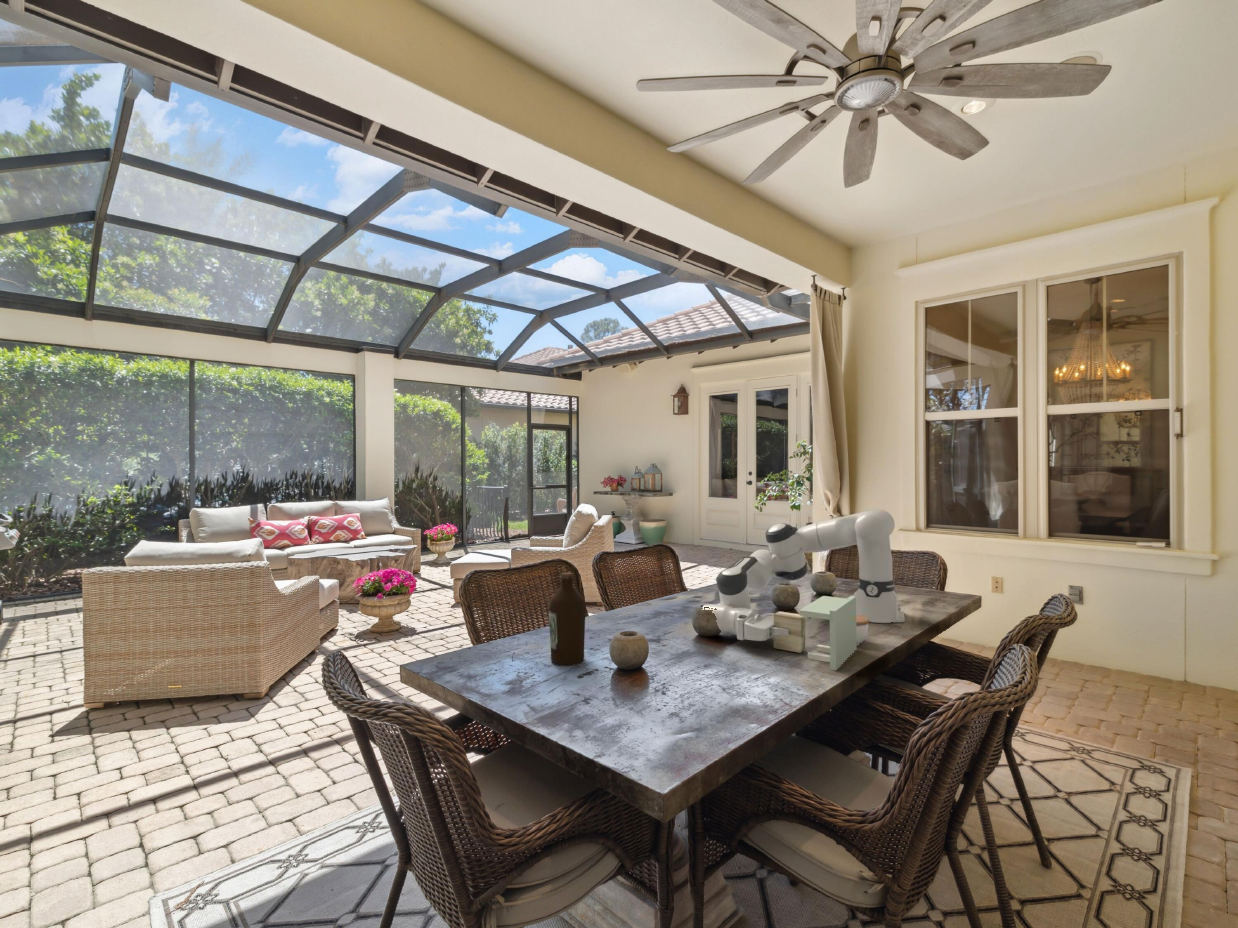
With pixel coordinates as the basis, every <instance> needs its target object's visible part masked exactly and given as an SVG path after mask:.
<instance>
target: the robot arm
mask: <svg viewBox="0 0 1238 928" xmlns="http://www.w3.org/2000/svg"><path fill="white" fill-rule="evenodd" d="M895 527H896V526H895V520H894V517H893V516H892V514H891V513H889V512H888V511H886V510H884V509H881V508H875V509H872V510H871V509H869V510H867V511H861V512H857V513H853V514H849V515H844V516H840V517H839V516H838V517H835V518H831V519H826V520H822V521H818V522H814V523H811V524H807V525H805V526H802V527H799V528H797V526H792V525H790V524H788V523H783V522H781V523H777V524H774V525H772V526H770V527H769V528H767V529H766V531H765V540H766V542H767V545H768V548H769V550H768V549H764V548H763V549H757V550H755V551H754V552H752V553H751V554H750V555H747V556H742V557H740V558H738V559H737V560H736V561H735V562H734V563H732V564H731V565H730V566H729V567H728V568H724V569H723V570H721V571H720V572H719V573H718V574H717V576H716V579H715V582H716V586H717V589H718V595H719V601H720V602H718V603H717V604H714V603H710V604H709V603H705V604H703V606H702V607H701V610H704V607H709V608H710V609H709V608H705V610H713V611H712V613H714V614H715V616H716V618H717V620H716V622H717V625H718V627H719V629H720V630H721V633H720V634H724V635H725V634H726V635H728V634H732V635H734V636H736V638H737V640H740V641H745V640H746V641H747V640H750V641H755V642H756V641H757V642H763V641H764V642H765V641H767V640H768V639H770V638H772V637H774V635H775V636H776V635H785V636H788V635H789V634H790V629H787V628H777V627H774V626H775V624H774V614H775V613H772V612H771V613H770V612H767V613H762V614H759V612H758V611H757V609H754V608H752V605H751V600H750V593H749V592H750V591H749V589H751V590H761V589H763V588H765V587H766V586H767V585H769V583H770V581H771V579H772V577H773V575H775V576H776V577H778V578H781V579H783V580H785V581H790V582H791V581H797V580H800V579H802V578H803V577H805V576H806V574H807V573H808V564H807V561H806V560H805V558H806V557H805V554H806V553H807V554H808V553H809V554H810V553H812V554H814V553H821V552H828V551H832V550H833V551H834V550H837V549H842V548H843V549H844V548H847V547H852V546H855V545H856V546H857V551H858V571H859V572H858V575H859V576H858V578H857V587H858V589H857V590H856V591H855V592H854V593H853V596H856V615H861V616H864V617H866V618H868V619H869V623H877V624H879V623H880V624H889V623H890V624H892V623H891V622H893V623H906V619H905V611H904V610H902V609H901V607H900V606H899V604H898V600H899V598H898V596H897V594H896V592H895V585H896V584H895V581H894V577H893V573H894V572H893V555H892V549H891V541H890V536H891V535H892V533H893V532H894V530H895ZM804 553H805V554H804ZM702 608H703V609H702ZM711 608H713V609H711ZM715 608H716V609H717V610H714V609H715Z"/></svg>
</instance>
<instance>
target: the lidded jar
mask: <svg viewBox="0 0 1238 928" xmlns="http://www.w3.org/2000/svg"><path fill="white" fill-rule="evenodd" d="M869 623H870V622H869V619H868V618H866V617H864V616H861V615H856V635H857V646H859V645H858V644H860V643H861V644H862V643H863V642H864V641H865V640H866V638H867V636H868V633H869ZM861 644H860V645H861Z"/></svg>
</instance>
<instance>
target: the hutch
mask: <svg viewBox="0 0 1238 928" xmlns="http://www.w3.org/2000/svg"><path fill="white" fill-rule="evenodd" d="M798 614H799V616H805V618H806V617H809V618H815V619H822V620H828V621H829V645H823V644H817V645H816V651H817V652H812V651H809V652H807V659H809V660H814V661H820V662H825V663H829V670H830V669H831V670H830V671H834V670H836V671H837V670H839V668H840V667H841V666H842V665H843V664H844V663H845V662H846V661H847V660H848V659H849V658H850V657H851V656H852V655H853V654H854V653H855V652H856V651H858V650H857V649H858V648H857V646H858V645H857V635H856V596H854V595H850V596H849V597H847V598H844V597H835V596H827V595H822V596H821V597H819V598H817V599H815V600H813V601H812V602H810V603H809V604H807V605H806V606H804V607H802V608H801V609H799V612H798ZM855 650H856V651H855ZM854 651H855V652H854ZM818 652H821V653H818ZM823 653H826V654H823ZM827 653H828V654H827ZM852 653H853V654H852ZM850 655H851V656H850ZM848 657H849V658H848ZM847 658H848V659H847ZM845 660H846V661H845ZM843 662H844V663H843ZM841 664H842V665H841Z"/></svg>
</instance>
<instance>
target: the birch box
mask: <svg viewBox="0 0 1238 928" xmlns="http://www.w3.org/2000/svg"><path fill="white" fill-rule="evenodd" d="M774 624H775V626H774V627H777V628H787V629H790V634H789V635H788V636H785V635H776V636H775V635H773V648H774V649H779V650H783V651H789V652H795V653H800V654H801V653H802V652H803V651H804V650H806V616H799V613H791V612H786V611H785V612H784V611H777V612H775V613H774Z"/></svg>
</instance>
